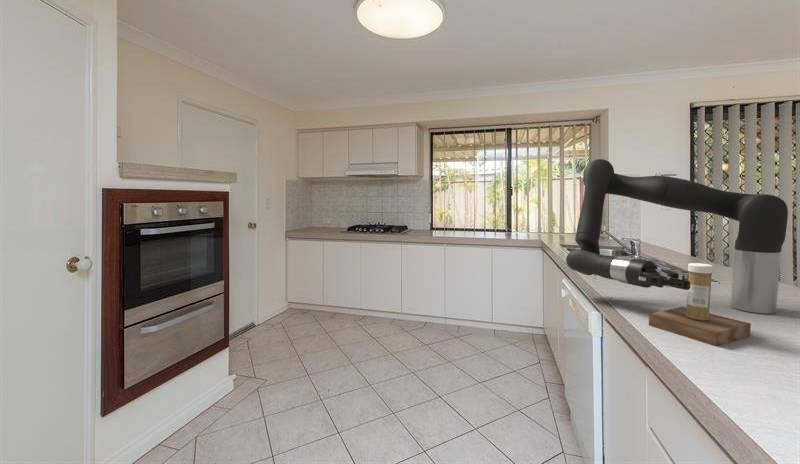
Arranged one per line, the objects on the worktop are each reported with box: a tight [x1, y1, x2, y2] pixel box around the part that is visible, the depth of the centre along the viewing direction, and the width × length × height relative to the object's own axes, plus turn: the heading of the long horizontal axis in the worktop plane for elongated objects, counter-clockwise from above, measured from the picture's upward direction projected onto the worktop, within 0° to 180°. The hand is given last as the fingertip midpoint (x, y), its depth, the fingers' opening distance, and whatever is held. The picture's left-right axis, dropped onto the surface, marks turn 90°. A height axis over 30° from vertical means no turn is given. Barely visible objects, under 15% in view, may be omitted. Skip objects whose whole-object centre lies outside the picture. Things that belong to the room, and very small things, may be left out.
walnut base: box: [648, 306, 752, 347], centre depth 84 cm, size 14×14×3 cm
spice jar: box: [685, 262, 714, 321], centre depth 83 cm, size 5×5×14 cm
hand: (700, 283), depth 83 cm, fingers open, 8 cm apart
